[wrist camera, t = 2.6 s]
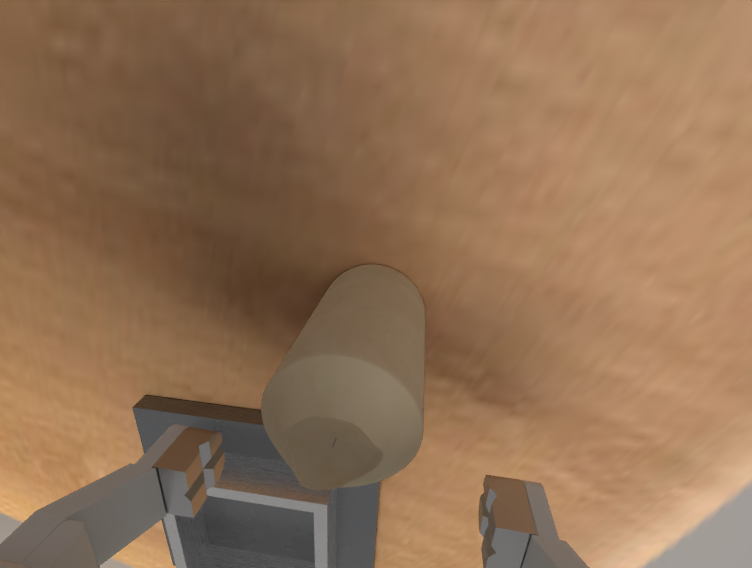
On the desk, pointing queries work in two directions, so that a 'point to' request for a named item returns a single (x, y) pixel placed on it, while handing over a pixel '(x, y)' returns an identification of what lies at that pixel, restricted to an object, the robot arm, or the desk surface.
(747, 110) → the desk surface
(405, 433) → the candle
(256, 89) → the desk surface
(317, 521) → the candle stand
